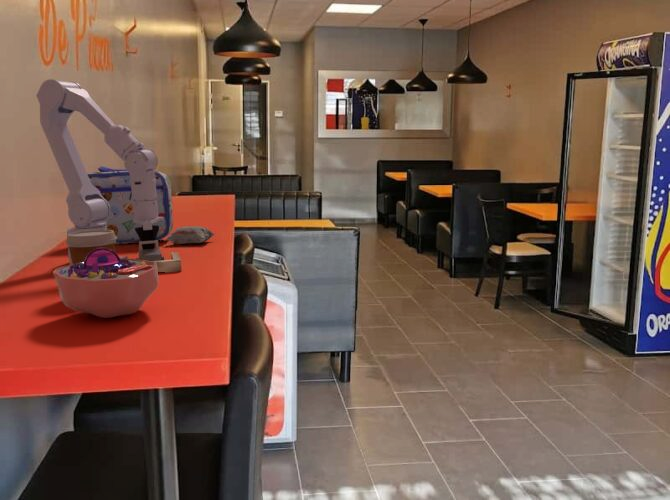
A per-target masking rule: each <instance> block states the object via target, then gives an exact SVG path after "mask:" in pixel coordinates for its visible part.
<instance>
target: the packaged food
mask: <svg viewBox="0 0 670 500" xmlns="http://www.w3.org/2000/svg"><path fill="white" fill-rule="evenodd" d="M213 236H215V233H214V232H212V231H211V230H210V229H207V227H204V226H193V225H192V226H191V225H190V226H181V227H178V228H176V229H175V230H173V232H171V233H170V234H169V235H168V236H167V238H166V237H165V238H163V241H167V242H170V243H173V244H175V245H181V244H186V245H187V246H193V245H199V244H203V243H205V242H207V241H209V240H210V239H211V238H212V237H213ZM186 245H185V246H186Z"/></svg>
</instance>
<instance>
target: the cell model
mask: <svg viewBox="0 0 670 500" xmlns="http://www.w3.org/2000/svg"><path fill="white" fill-rule="evenodd" d="M52 273H53V277H54V279H55V281H56V284H57V289H58V293H59V298H60V299H61V300H60V301H61V303H63V305H64V306H65V307H66V308H69V309H71V310H73V311H75V312H79V313H87V314H91V315H94V316H96V317H98V318H103V319H110V318H116V317H121V316H126V315H132V314H134V313H137V312H138V311H140V309H141V308H142V307H143V305H144V304H145V303H146V301H147V300H148V298H149V297H151V295H152V294H153V293H154V292H155V291H156V290H157V288H158V287H159V283H160V282H159V279H160V278H159V273H158V268H157V262H151V261H146V260H141V259H136V258H128V259H121V257H119V255H118V253H117V252H116V251H115V252H114V251H112V250H110V249H108V248H103V247H102V248H97V249H94V250H93V251H91V252H90V253H89V254H88V255H87V256H86V258H85V260H84V262H81V263H77V264H72V265H70V264H67V265H63V266H59V267H58V268H56V269H54V270H53V272H52Z"/></svg>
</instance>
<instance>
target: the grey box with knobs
mask: <svg viewBox="0 0 670 500" xmlns="http://www.w3.org/2000/svg"><path fill="white" fill-rule="evenodd" d="M149 243H155V249H144V250H143V248H142V244H149ZM137 253H138V258H137V257H136V258H135V259H141V260H146V261H162V260H165V256H164V255H162V251H161V248H159V240H151V241H139V243H138V251H137Z"/></svg>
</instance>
